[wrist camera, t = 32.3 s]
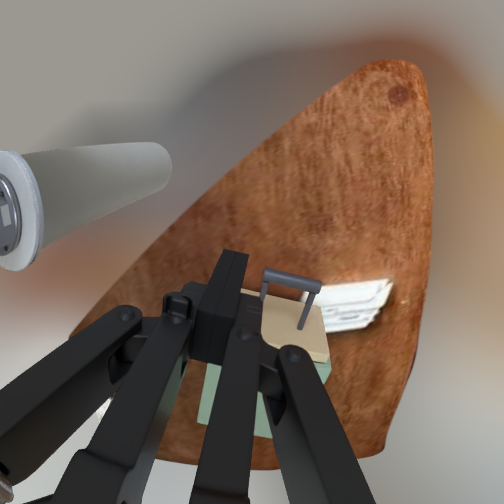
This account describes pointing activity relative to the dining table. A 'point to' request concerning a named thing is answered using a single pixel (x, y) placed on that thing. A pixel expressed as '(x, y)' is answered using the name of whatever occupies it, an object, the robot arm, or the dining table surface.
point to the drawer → (292, 315)
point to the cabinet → (261, 416)
